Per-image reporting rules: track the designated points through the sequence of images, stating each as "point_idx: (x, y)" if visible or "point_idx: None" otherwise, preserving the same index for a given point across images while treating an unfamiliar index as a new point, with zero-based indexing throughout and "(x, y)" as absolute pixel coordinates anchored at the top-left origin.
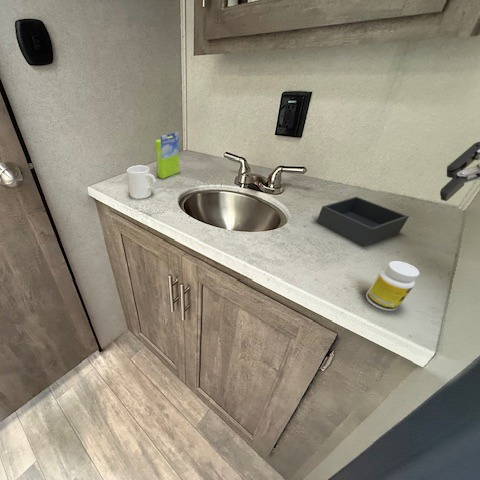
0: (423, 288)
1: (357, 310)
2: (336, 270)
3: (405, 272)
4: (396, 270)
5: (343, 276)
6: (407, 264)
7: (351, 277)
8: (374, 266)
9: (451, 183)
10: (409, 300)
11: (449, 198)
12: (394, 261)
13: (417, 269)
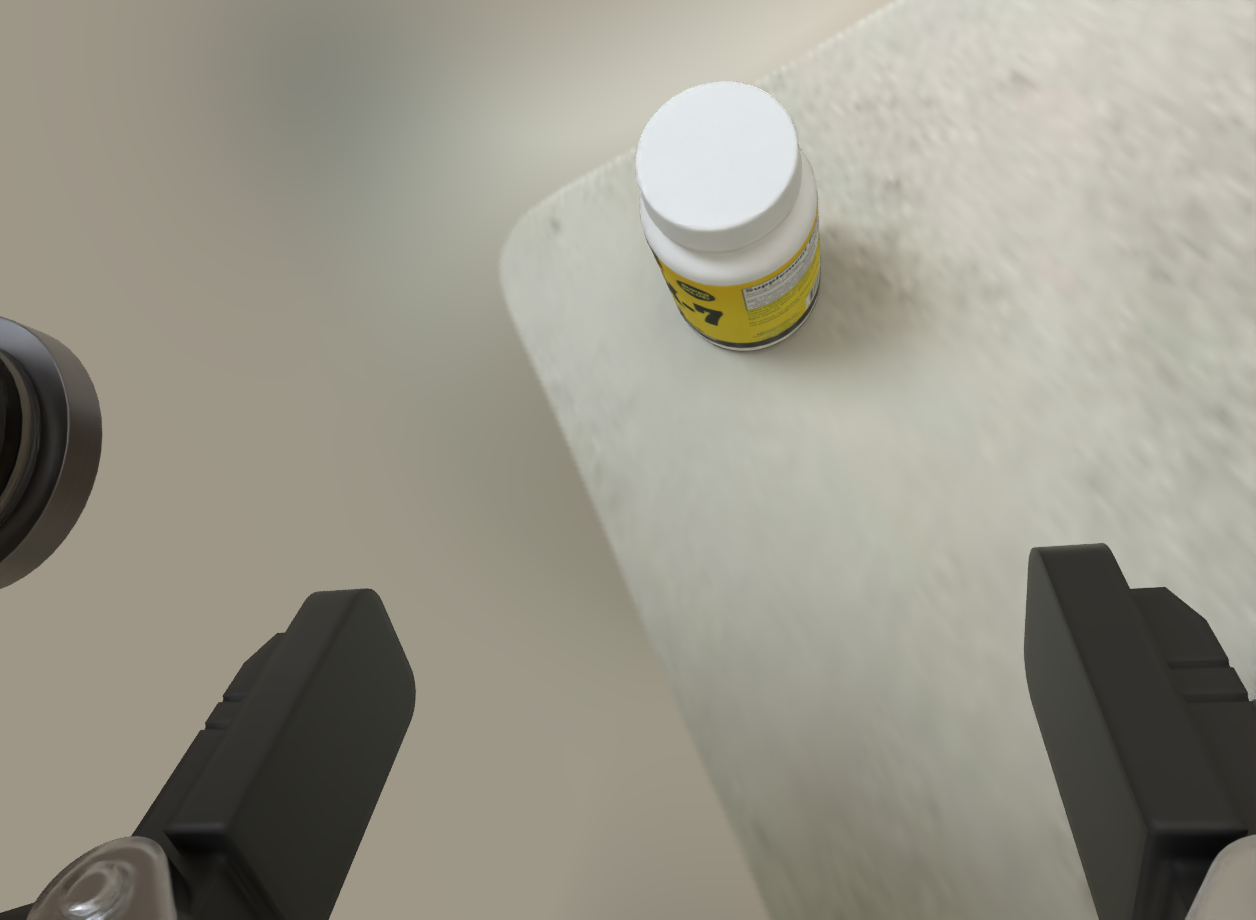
0: (732, 614)
1: None
2: (1055, 262)
3: (680, 120)
4: (715, 87)
5: (987, 259)
6: (733, 211)
7: (962, 298)
8: (1004, 540)
9: (1215, 738)
10: (696, 437)
11: (1038, 721)
12: (790, 163)
13: (674, 221)
